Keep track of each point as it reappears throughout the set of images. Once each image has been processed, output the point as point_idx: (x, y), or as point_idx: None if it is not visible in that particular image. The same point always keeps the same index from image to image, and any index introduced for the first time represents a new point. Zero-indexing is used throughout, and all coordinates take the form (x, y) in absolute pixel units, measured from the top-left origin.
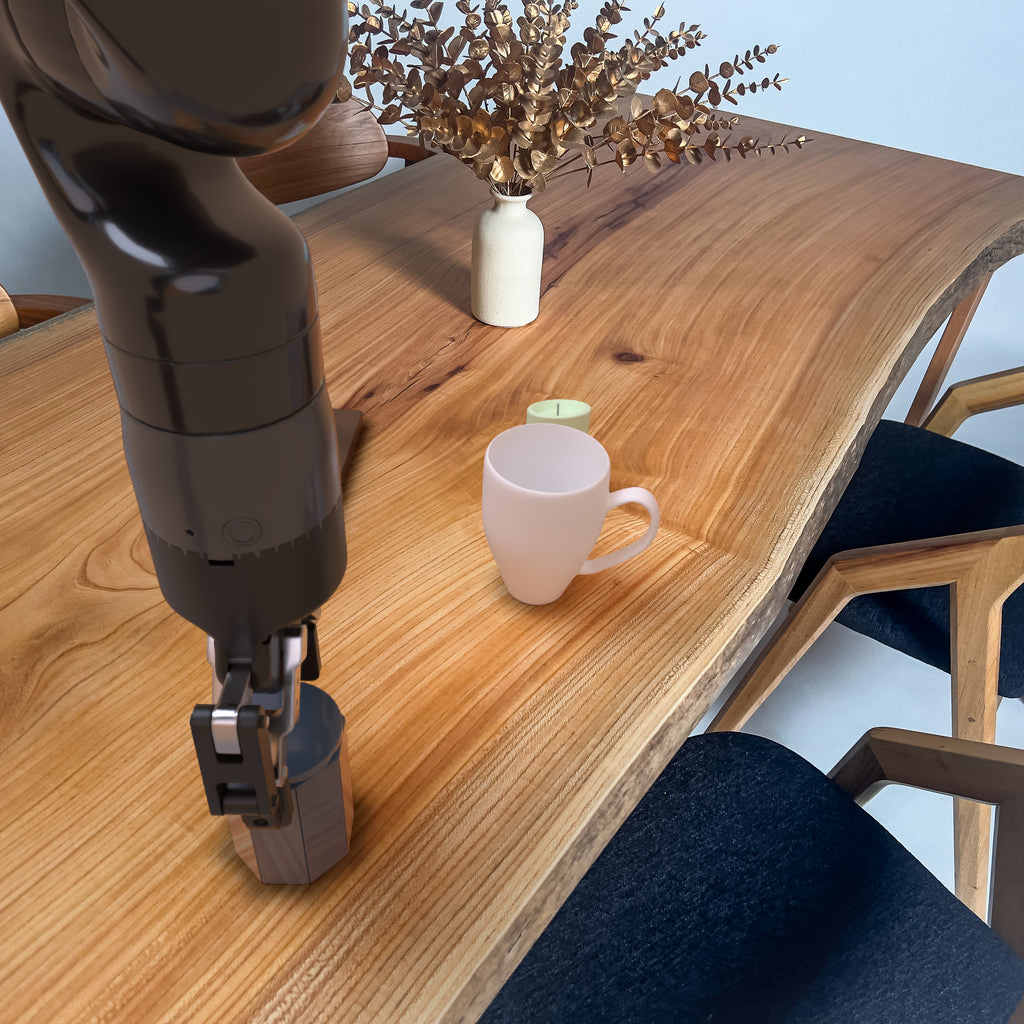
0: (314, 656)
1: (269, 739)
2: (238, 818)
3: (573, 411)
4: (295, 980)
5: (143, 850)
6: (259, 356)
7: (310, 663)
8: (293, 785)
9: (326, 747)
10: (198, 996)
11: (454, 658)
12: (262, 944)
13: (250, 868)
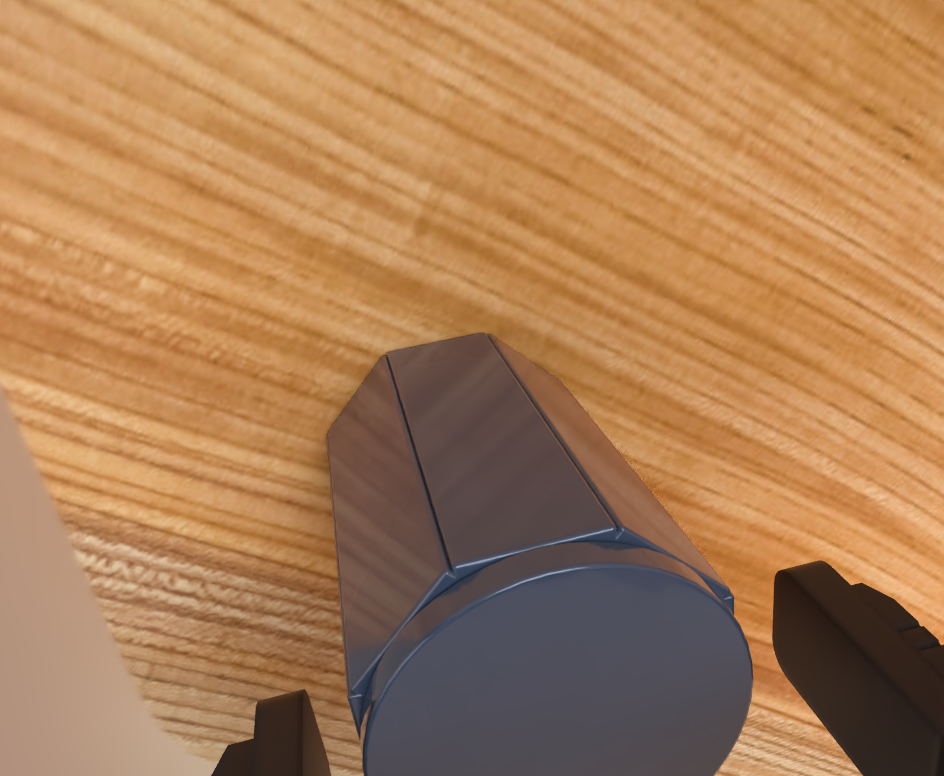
0: (840, 742)
1: (519, 732)
2: (367, 503)
3: None
4: (153, 564)
5: (342, 138)
6: None
7: (820, 700)
8: None
9: None
10: (56, 414)
11: (884, 581)
12: (201, 483)
13: (350, 403)
